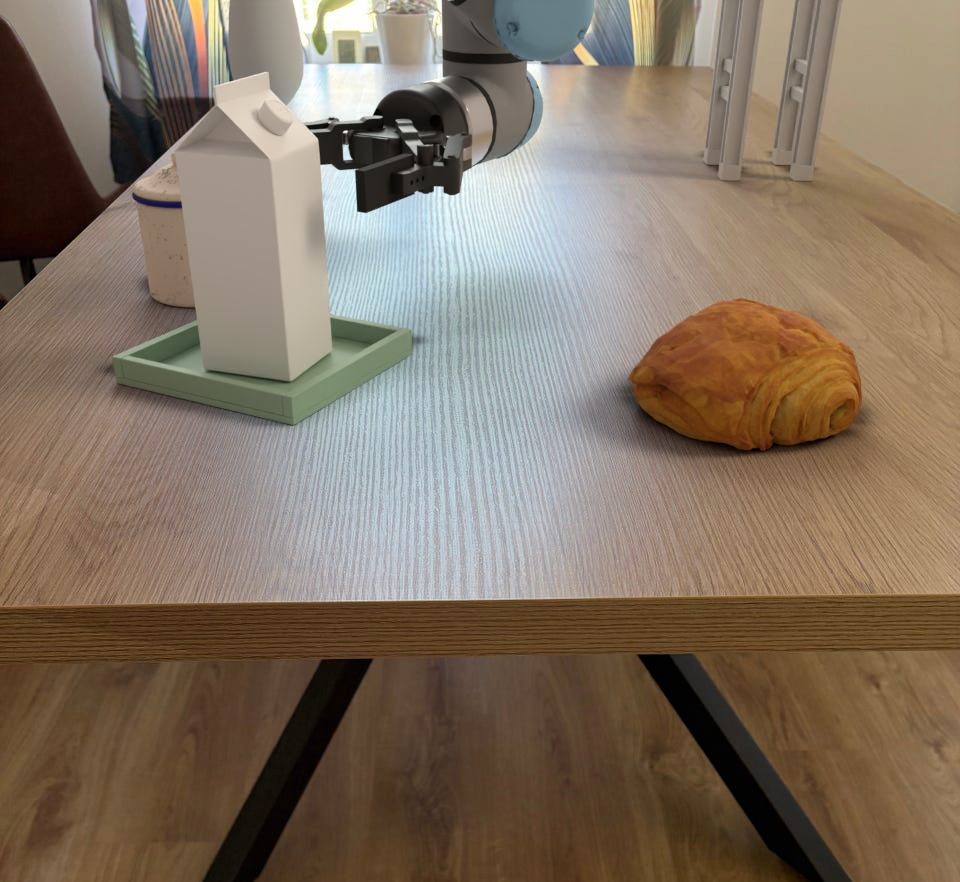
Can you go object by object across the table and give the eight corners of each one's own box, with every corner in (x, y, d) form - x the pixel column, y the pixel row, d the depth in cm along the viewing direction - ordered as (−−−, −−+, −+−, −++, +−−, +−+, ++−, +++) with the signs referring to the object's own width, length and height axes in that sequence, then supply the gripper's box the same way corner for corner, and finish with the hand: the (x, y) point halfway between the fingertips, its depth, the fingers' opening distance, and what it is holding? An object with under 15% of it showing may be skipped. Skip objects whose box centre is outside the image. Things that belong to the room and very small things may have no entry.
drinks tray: (116, 383, 81) (111, 356, 80) (249, 321, 92) (246, 297, 91) (293, 425, 75) (291, 397, 74) (412, 354, 86) (411, 329, 85)
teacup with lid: (253, 307, 95) (238, 161, 89) (143, 312, 94) (120, 164, 88) (253, 267, 105) (240, 133, 99) (154, 271, 104) (134, 135, 97)
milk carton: (202, 371, 81) (164, 83, 71) (249, 340, 87) (221, 68, 76) (290, 384, 80) (265, 89, 69) (333, 352, 85) (315, 74, 75)
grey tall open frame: (708, 184, 136) (750, -170, 117) (684, 157, 149) (719, -166, 129) (833, 184, 137) (896, -168, 117) (799, 158, 150) (851, -164, 130)
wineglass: (283, 218, 120) (264, -7, 109) (230, 208, 124) (206, -11, 112) (327, 204, 126) (313, -12, 114) (275, 195, 129) (256, -15, 117)
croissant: (743, 388, 87) (751, 281, 83) (897, 434, 75) (914, 311, 71) (586, 416, 81) (588, 302, 78) (725, 471, 69) (734, 339, 65)
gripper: (562, 196, 92) (433, 259, 76) (311, 163, 101) (151, 213, 86) (567, 95, 87) (432, 140, 72) (305, 71, 97) (135, 106, 81)
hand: (278, 180), depth 79 cm, fingers open, 13 cm apart
